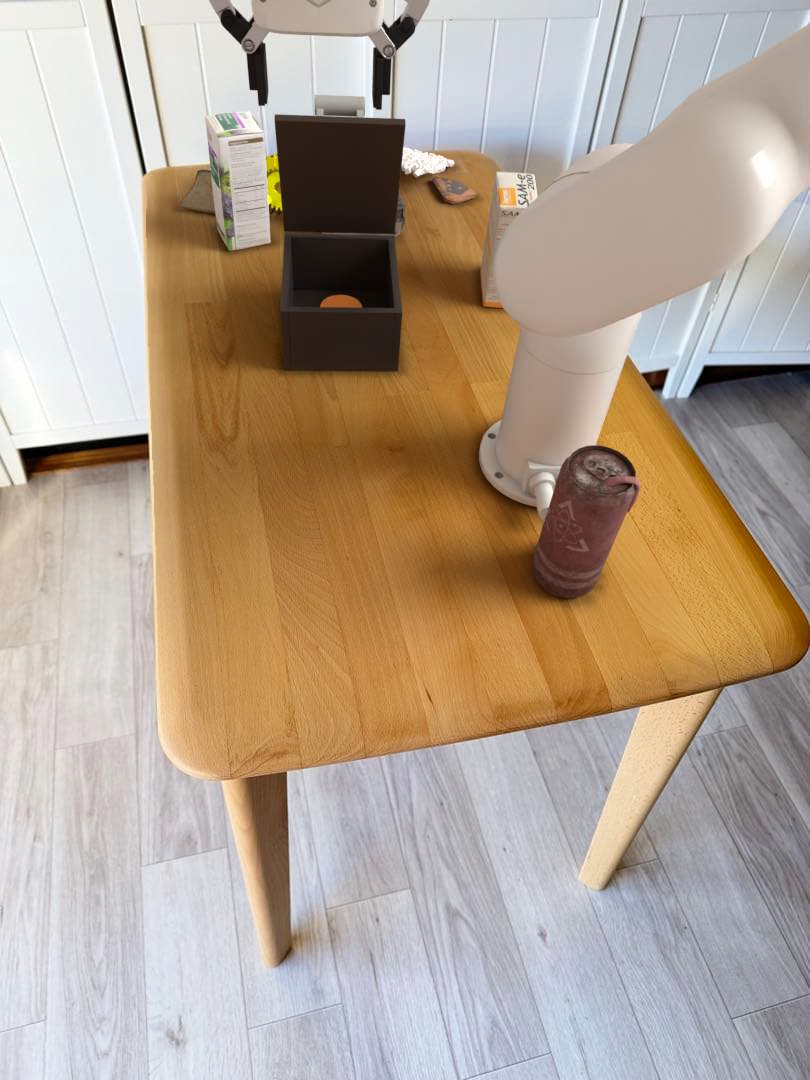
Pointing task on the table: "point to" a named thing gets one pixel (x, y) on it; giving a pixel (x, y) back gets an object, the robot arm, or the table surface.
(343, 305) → the orange cylinder
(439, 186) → the pottery shard
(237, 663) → the table surface
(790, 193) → the robot arm
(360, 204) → the chamber lid
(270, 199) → the gear
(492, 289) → the supplement box
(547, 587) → the can
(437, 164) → the salt crystals
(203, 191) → the ceramic shard
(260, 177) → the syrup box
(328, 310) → the box
